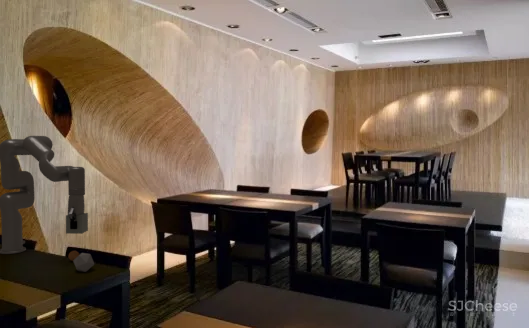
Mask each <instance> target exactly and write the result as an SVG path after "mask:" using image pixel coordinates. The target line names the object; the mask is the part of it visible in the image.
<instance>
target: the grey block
mask: <svg viewBox="0 0 529 328" xmlns="http://www.w3.org/2000/svg"><path fill="white" fill-rule="evenodd" d="M73 215H76V214H73ZM69 217H70V216H69V215H68V214H67V215H65V234H66V235H67V234H70V235H71V234H73V235H74V234H76V235H77V234H78V235H79V234H84V233H86V232H88V231H89V230H88V229H89V213H88V212H84V213H82V214H80V215H78V216H77V220H76V221H77V229H70V218H69ZM74 218H75V216H74Z"/></svg>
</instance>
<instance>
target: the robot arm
mask: <svg viewBox="0 0 529 328" xmlns="http://www.w3.org/2000/svg"><path fill="white" fill-rule="evenodd" d="M53 145H54V144H53V141H52V140H51V138H50V137H49V136H46V135H28V136H26V137H25V138H22V139H21V138H12V139H5V140H3V141H2V142H0V182H1V186H2V188H3V189H5V190H7V191H8V190H9V192H5V193H3V194H1V195H0V215H1V216H0V218H1V248H0V254H1V255H10V254H13V255H14V254H19V253H22V252H25V251H26V250H27V248H26V247H25V246H23V245H24V244H26V240H23V216H22V215H21V213H20V211H19V210H22V209H28V208H31V207H33V205H34V202H35V180H34V177H33V175H32V173H31V172H29V171H27V170H21V169H20V162H19V160H18V158H17V157H16V156H32V157H33V158H34V159H35V160H36V161H37V162H38V168H39V171H40V173H41V175H43V176H44V177H45V178H46V179H47V180H49V181H51V182H54V183H57V182H67V181H68V182H67V183H68V200H67V215H69V216H70V217H69V218H70V229H77V221H76V220H77V216H78V215H80V214H82V213H85V211H86V210H85V208H86V207H85V195H86V168H84V167H83V166H73V165H59V166H58V165H57V166H56V165H53V164H52V163H51V161H53V159H54V158H55V151H53V150H52V149H53ZM10 190H11V192H10ZM12 190H19V191H12ZM73 214H76V215H73ZM74 216H75V218H74Z"/></svg>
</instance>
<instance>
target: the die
mask: <svg viewBox="0 0 529 328" xmlns="http://www.w3.org/2000/svg"><path fill="white" fill-rule="evenodd" d="M72 262H73V264H74V266H75V269H76V270H77V271H78V272H82V273H86V272H88V271H90V269H91V268H92V267H94V265H95V261H94V259H93V257H92V255H91V253H86V252H81V253H79V256H78V257H77V258H76V259H74V260H73V261H72Z"/></svg>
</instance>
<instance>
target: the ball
mask: <svg viewBox="0 0 529 328" xmlns="http://www.w3.org/2000/svg"><path fill="white" fill-rule="evenodd" d="M79 255H80V253H79V251H77V250H71V251H70V252H69V253H68V259H69V260H70V262H71V261H72V262H73V260H74V259H76V258H77V257H78V256H79Z"/></svg>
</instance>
